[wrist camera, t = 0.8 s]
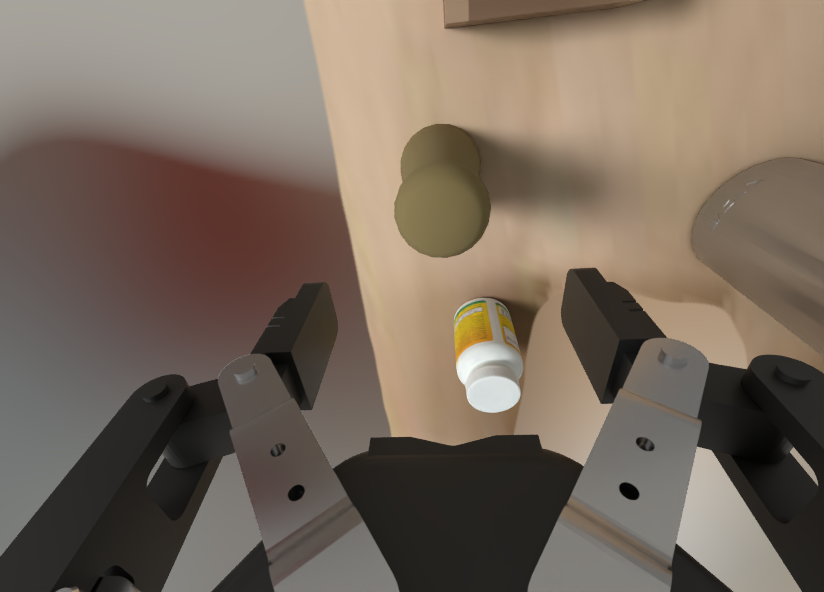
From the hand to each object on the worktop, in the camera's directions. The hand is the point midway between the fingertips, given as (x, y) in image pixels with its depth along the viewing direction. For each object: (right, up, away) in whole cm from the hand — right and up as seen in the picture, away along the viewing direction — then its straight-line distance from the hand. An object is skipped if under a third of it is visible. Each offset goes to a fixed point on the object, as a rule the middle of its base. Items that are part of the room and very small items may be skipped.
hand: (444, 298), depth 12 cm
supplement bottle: (+6, -2, +23) cm, 24 cm away
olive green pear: (+1, +10, +15) cm, 18 cm away
